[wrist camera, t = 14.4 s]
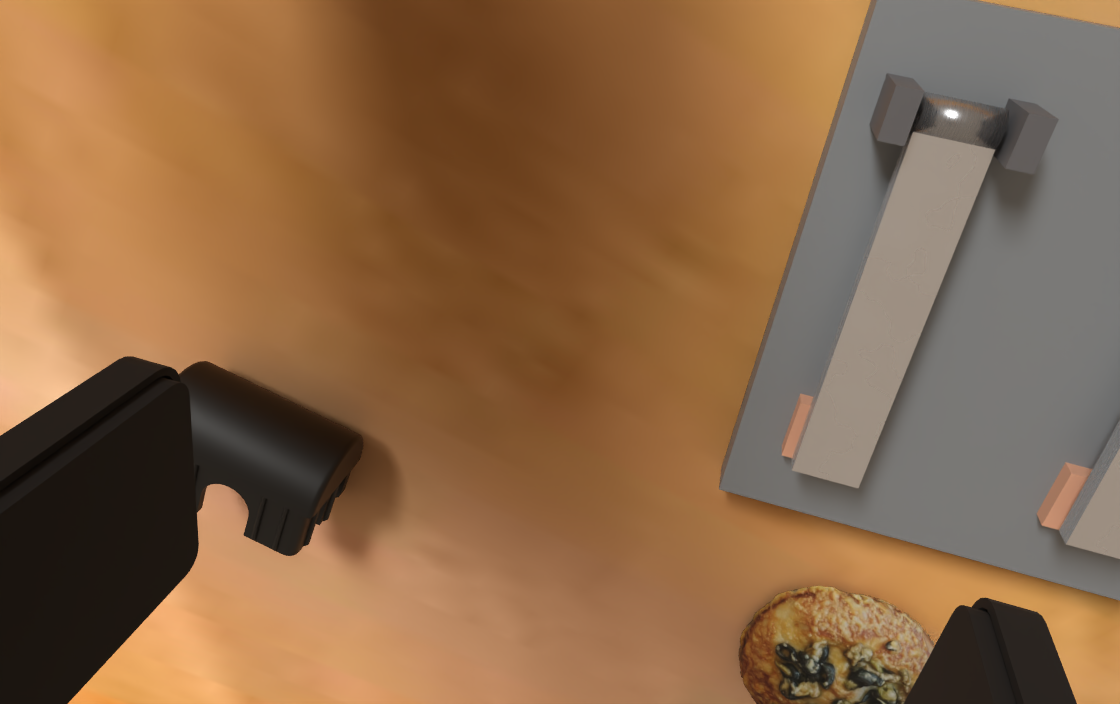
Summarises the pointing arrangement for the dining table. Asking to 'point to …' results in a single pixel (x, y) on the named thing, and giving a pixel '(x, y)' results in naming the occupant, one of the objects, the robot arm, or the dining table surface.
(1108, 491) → the strap
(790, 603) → the bread roll
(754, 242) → the dining table surface
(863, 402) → the strap
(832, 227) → the clamp board
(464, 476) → the dining table surface
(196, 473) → the end cap
